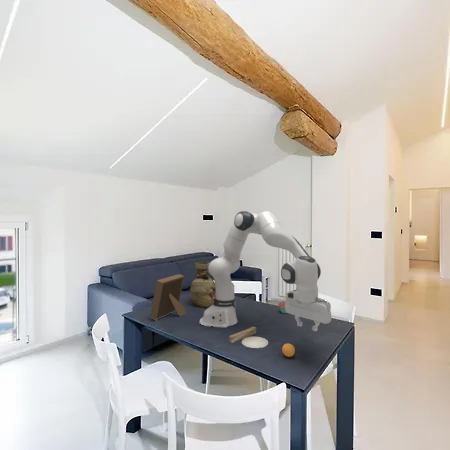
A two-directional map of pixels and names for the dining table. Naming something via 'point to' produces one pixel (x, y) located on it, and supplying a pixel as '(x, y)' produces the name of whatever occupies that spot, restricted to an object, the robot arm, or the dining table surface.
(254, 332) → the bar
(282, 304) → the cupcake
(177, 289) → the photo frame
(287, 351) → the ball
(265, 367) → the dining table surface
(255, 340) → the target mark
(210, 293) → the ceramic vessel
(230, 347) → the dining table surface
